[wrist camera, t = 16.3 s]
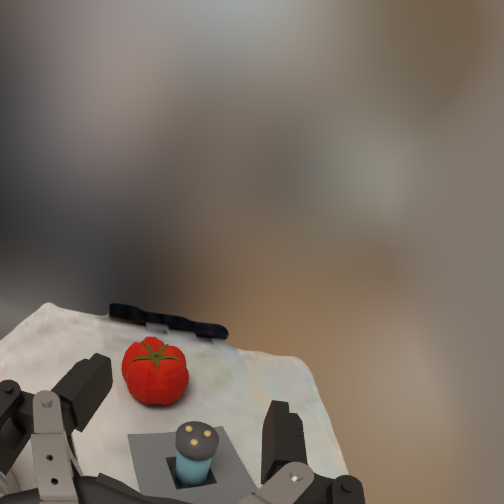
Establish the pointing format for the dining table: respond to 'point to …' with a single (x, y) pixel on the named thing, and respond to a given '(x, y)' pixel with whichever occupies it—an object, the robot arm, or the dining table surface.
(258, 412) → the dining table surface
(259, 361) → the dining table surface
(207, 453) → the plug
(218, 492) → the socket block
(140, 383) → the tomato
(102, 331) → the dining table surface
